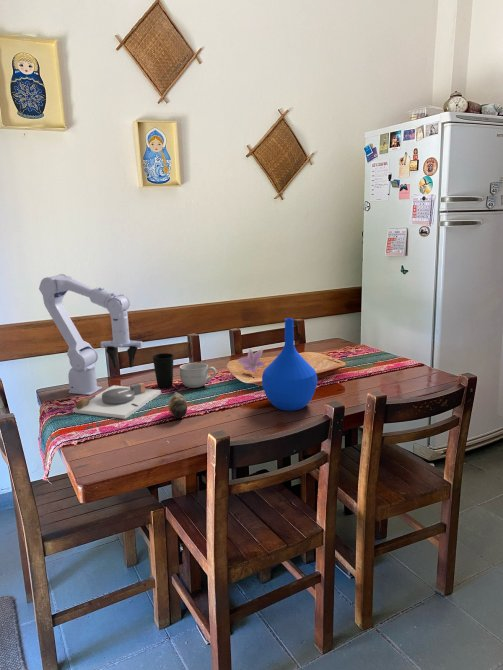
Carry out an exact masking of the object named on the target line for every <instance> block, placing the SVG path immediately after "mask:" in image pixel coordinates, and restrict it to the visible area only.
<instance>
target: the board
mask: <svg viewBox="0 0 503 670" xmlns="http://www.w3.org/2000/svg"><path fill="white" fill-rule="evenodd" d="M117 388H129V389H130V386H121V385H111V386H110V387H108V388H106V389H104V390H103V391H102V392H99V393H97V394H95V397H94V398H93V399H91V400H89V401H90V402H89V404H87V405H86V406H84V407H82V408H81V409H78V408H76V406H74V407H73V408H72V413H74V412H75V413H74V414H82V415H83V414H84V415H92V416H99V417H106V418H109V417H110V418H115V419H116V418H117V419H124V420H125V419H127V418H129V417H130V416H131V415H133V414H134V413H135V412H137V411H138V410H140V409H141V408H143V407H145V405H147V404H148V403H150V402H151V401H153V400H154V399H155V398H156V397H159V396H160V395H161V394H162V389H153V388H145V392H143V393H139V394H135V398H134V399H133V400H131V401H129V402H126V403H122V404H106V403H104V402H103V401H102V394H103V393H104V392H106V391H108V390H111V389H117ZM149 401H150V402H149ZM146 403H147V404H146ZM132 413H133V414H132Z"/></svg>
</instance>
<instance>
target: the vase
mask: <svg viewBox="0 0 503 670" xmlns="http://www.w3.org/2000/svg"><path fill="white" fill-rule="evenodd" d="M294 329H295V328H294V318H292V317H287V318H284V344H283V345H284V346H283V348H282V350H281V351H280V352H279V353H278V355H277V356H276V357H275V358H274V359H273V360H272V361H271V362H270V363H269V364H268V366H267V367H265V368H264V369H263V372H262V377H261V385H262V389H263V391H264V394H265V396H266V398H267V399H268V401H269V403H271V405H272V406H274V407H275V408H276V409H278V410H281V411H288V412H293V411H298V410H302V409H303V408H304V407H306V406H307V405H308V404H309V403H310V402H311V400H312V398H313V397H314V395H315V392H316V389H317V385H318V376H317V371H316V370H315V368H314V367H312V366H311V365H310V363H309V362H307V361H306V360H305V358H304V357H303V356H302V355H301V354H300V353H299V352H298V351H297V349H296V347H295V342H294V341H295V338H294V337H295V335H294V334H295V333H294Z"/></svg>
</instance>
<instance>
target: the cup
mask: <svg viewBox="0 0 503 670" xmlns="http://www.w3.org/2000/svg"><path fill="white" fill-rule="evenodd" d="M174 356H175V355H174V354H173V353H170V352H169V353H168V352H167V353H166V352H165V353H163V352H161V353H157V354H154V355H153V356H152V361H153V362H152V363H153V367H154V374H155V379H156V385H157V389H159V388H160V389H159V390H168V389H171V388H172V387H173V385H174V384H173V383H174V381H173V380H174Z"/></svg>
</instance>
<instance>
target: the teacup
mask: <svg viewBox="0 0 503 670" xmlns="http://www.w3.org/2000/svg"><path fill="white" fill-rule="evenodd" d="M210 370H212V371H213V374H212V375H211V376H209V372H210ZM216 375H217V369H216V368H215V367H214V366H209V365H208V363H204V362H189V363H184V364H182V365H181V364H180V366H179V377H180V378H179V379H180V382H181V383H182V384H183V385H184V386H185V387H187V388H191V389H196V388H201V387H203V386H205V385H206V383H208V382H210V380H211V379H214V378H215V376H216Z"/></svg>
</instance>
